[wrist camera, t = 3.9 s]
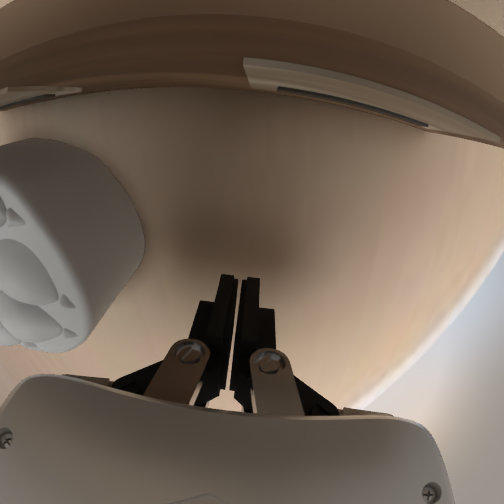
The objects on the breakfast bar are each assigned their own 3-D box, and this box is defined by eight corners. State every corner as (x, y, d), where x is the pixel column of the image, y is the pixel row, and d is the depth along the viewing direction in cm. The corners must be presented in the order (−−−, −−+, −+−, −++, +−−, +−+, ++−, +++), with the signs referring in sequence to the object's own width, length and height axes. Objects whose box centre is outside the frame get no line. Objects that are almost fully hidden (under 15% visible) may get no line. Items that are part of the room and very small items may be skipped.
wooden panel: (6, 91, 12) (-113, 115, 2) (432, 108, 12) (594, 134, 2) (5, 114, 13) (-115, 149, 3) (427, 137, 13) (587, 190, 3)
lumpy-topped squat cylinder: (13, 128, 13) (-81, 156, 5) (164, 174, 15) (73, 236, 7) (8, 251, 18) (-57, 306, 10) (132, 313, 19) (82, 407, 11)
